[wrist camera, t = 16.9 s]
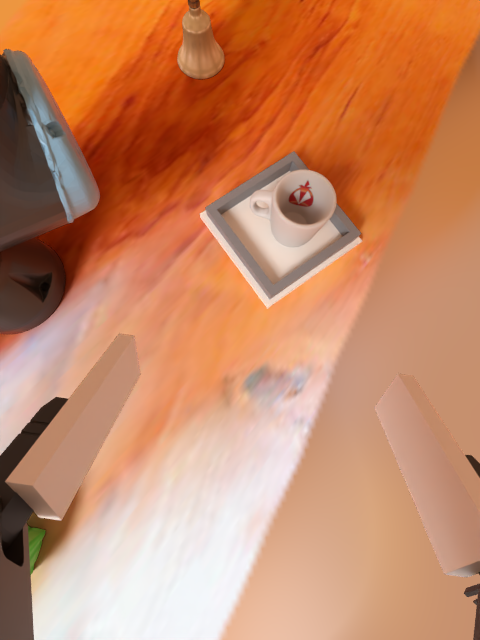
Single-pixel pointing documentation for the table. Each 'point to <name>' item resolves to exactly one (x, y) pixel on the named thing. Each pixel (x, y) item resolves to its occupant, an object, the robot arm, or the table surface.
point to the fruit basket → (34, 544)
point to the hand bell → (199, 45)
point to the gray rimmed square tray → (263, 249)
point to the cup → (296, 206)
